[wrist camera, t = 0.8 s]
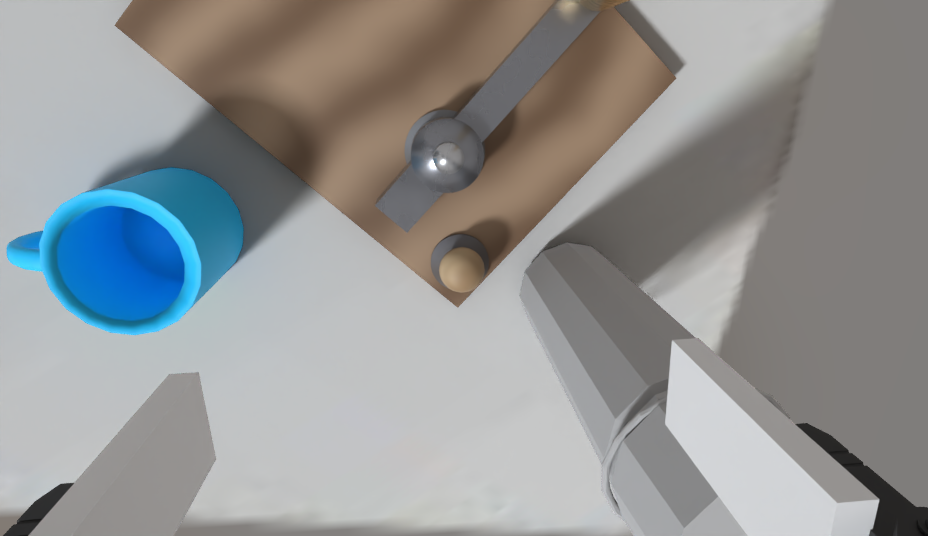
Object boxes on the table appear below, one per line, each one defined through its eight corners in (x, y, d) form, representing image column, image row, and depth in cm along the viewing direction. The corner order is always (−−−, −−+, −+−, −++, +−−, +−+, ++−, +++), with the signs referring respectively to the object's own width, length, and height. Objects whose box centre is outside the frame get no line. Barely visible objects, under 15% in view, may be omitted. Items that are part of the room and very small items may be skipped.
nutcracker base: (124, 27, 34) (83, 18, 29) (349, -283, 30) (338, -344, 26) (456, 301, 41) (461, 326, 37) (668, 78, 37) (701, 77, 33)
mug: (236, 166, 37) (190, 188, 29) (250, 284, 39) (211, 332, 32) (42, 167, 36) (-60, 190, 28) (69, 288, 38) (-18, 339, 31)
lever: (417, 233, 37) (420, 291, 27) (365, 189, 36) (347, 233, 26) (630, -2, 34) (730, -41, 24) (582, -59, 33) (663, -127, 22)
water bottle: (509, 244, 40) (652, 475, 16) (617, 232, 41) (907, 439, 17) (517, 359, 43) (648, 696, 19) (617, 347, 43) (865, 661, 20)
